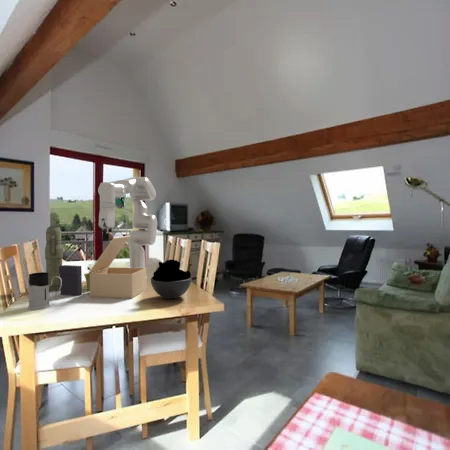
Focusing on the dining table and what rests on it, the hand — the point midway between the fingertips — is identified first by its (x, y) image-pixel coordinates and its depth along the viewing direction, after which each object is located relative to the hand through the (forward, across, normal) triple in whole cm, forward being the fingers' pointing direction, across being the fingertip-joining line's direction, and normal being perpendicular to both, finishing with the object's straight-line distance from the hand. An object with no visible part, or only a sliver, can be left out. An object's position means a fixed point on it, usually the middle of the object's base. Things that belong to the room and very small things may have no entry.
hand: (107, 240), depth 168 cm
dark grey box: (+28, +5, -18) cm, 34 cm away
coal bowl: (+28, +8, +36) cm, 46 cm away
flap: (+7, 0, +2) cm, 7 cm away
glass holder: (+28, +28, -16) cm, 43 cm away
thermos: (+28, -6, -34) cm, 44 cm away
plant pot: (+28, -8, -13) cm, 32 cm away
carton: (+28, 0, +6) cm, 29 cm away
